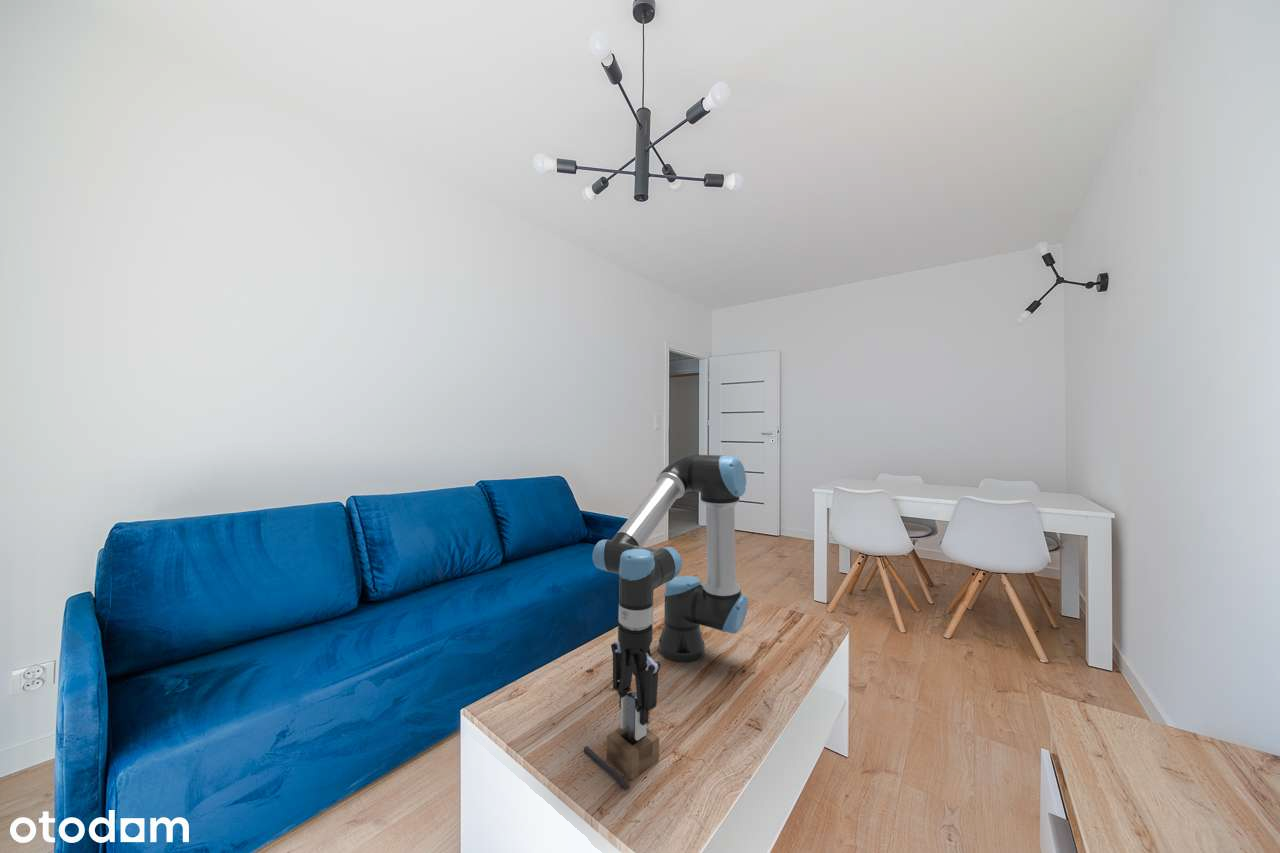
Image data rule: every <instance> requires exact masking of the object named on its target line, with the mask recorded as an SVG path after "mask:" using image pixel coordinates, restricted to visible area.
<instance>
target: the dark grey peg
mask: <svg viewBox="0 0 1280 853" xmlns="http://www.w3.org/2000/svg"><path fill="white" fill-rule="evenodd" d="M637 707H638V699H637V691H630V692H628V698H627V742H629V743H630V744H631V745H632V746H633V745H634V744H636V743H637V742H639V740H638V741H637V740H635V708H637Z"/></svg>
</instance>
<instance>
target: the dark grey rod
mask: <svg viewBox="0 0 1280 853" xmlns="http://www.w3.org/2000/svg"><path fill="white" fill-rule="evenodd" d="M583 752H584V753H585V754H586V755H587V756H589V758H590V759H591V760H592V761H594V762H595V763H596V765H598V766H599V767H600V768H601V769H603V771H604V772H606V773H607V774H608V775H609V776H610V777H611V778H612V779H613V780H614V781H615V782H617V783H618V784H619V785H620V786H621V787H622V788H623V789H624V790H625V791H626V790H629V788H630V784H629V782H628V781H627V780H626V779H624V778H623V777H622V776H621V775H620V774H619V773H618V772H616V770H614V769H613V768H612V767H611V765H609V764H608V763H606V761H604V760H603V759H602V758H601V757H600V756H599V755H598V754H597V753H595V751H593V750H592V749H591V748H590V747H589V746H588V745H586V746H584V747H583Z"/></svg>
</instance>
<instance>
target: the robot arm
mask: <svg viewBox="0 0 1280 853" xmlns="http://www.w3.org/2000/svg"><path fill="white" fill-rule="evenodd" d="M655 480H656V481H655V484H654V486H653V487H652V488H651V489H650V491H649V492H648V493H647V495H646V496H645V497H644V499H642V501H641V502H640V504H639V505H638V506H637V507H636V509H635V510H633V512H632V514H630V516H629V517H628V518H627V520H626V521H625V523H624V524H623V525H622V526H621V527H620V528H619V530H618V531H617V532H616V534H615V535H614V536H613V537H612V539H601V540H599V541H598V542H597V543H596V544H595V545H594V547H593V550H592V562H593V564H594V566H595V567H596V568H597V569H599V570H602V571H605V572H607V573H613V574H617V575H618V579H619V580H618V581H619V582H618V583H619V585H618V586H619V588H618V589H619V590H618V596H619V598H618V626H617V641H616V642H614V643H611V644H610V646H611V647H610V649H611V652H612V688H613V689H614V690H617V694H618V696H619V709H620V719H619V720H620V721H619V722H620V723H619V724H620V725H619V726H620V727H619V728H621V729H624V728H626V727H627V698H628V694H629V693H630V692H633V688H631V685H632V680H633V679H632V678H633V676H634V678H635V679H634V680H635V688H636V692H637V699H638V707H637V708H635V740H637V741H638V740H639V739H641V738H642V737H644V736H645V735H646V728H648V726H647V725H648V723H649V716H650V714H649V712H650V711H651V710H653V709H654V708H656V707H657V703H658V700H657V699H658V681H659V672H660V669H661V667H662V666H661V665H662V664H661V662H660V661H654V659H653V658H652V653H651V649H650V647H651V644H652V642H653V628H654V626H653V623H654V591H655V589H657V588H658V587H660V586H662V585H664V584H665V586H664V594H663V595H664V616H663V617H664V624H663V628H662V630H661V633H660V637H659V640H658V652H659V653H660V654H661V655H662V656H663V657H664V658H666V659H667V660H672V661H676V662H679V663H680V662H681V663H682V662H684V663H687V662H694V661H697V660H699V659H701V658H703V657H704V655H705V651H706V645H705V641H704V639H703V635H702V631H701V626H703V627H706V628H711V629H714V630H718V631H721V632H722V633H728V634H732V635H734V634H737V633H739V631H740V630H742V627H743V626H744V623H745V621H746V617H747V614H748V609H749V608H748V607H749V599H748V596H747V595H745V594H742V593H741V592H742V590H741V588H742V587H741V585H740V584H739V583H738V581H737V580H736V530H735V529H736V526H735V522H736V521H735V517H736V516H735V506H736V504H737V503H739V502H740V497H742V496H743V495H744V494H745V493H746V487H747V474H746V471H745V467H744V464H743V463H742V461H741V460H740V459H739V458H737V457H736V456H728V455H721V454H720V455H718V454H697V453H695V454H694V453H693V454H687V455H684V456H681V457H679V458H677V459H675V460H674V461H673V462H671V463H670V464H668V465H667V466H665V468H664V469H663V470H662V471H660V473H659V475H658V476H657V477H656V479H655ZM687 492H689V493H690V492H694V493H700V501H701V502H702V504H704V505H705V526H706V533H705V534H706V568H707V569H706V572H707V577H706V578H707V579H706V580H705V581H704V582H703V584H702V581H701V578H699V577H697V576H694V575H693V576H692V575H682V576H678V575H680V573H681V571H682V566H683V562H682V557H681V556H680V554H679V552H678V551H677V550H676V549H674V548H673V547H670V546H665V547H659V548H658V549H657V548H656V549H655V548H650V547H645V546H644V545H645V544H646V542H648V541H647V540H648V539H649V538H650V537H651V535H652V534H653V532H654V531H655V529H656V528H657V527H658V525H660V522H662V520H663V518H664V517H665V515H666V514H668V511H669V510H670V509H671V507H672V506H673V504H674V503H675V501H676V500H677V499H681V498H682V497H683V496H684V495H685V493H687Z"/></svg>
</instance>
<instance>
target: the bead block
mask: <svg viewBox="0 0 1280 853" xmlns="http://www.w3.org/2000/svg"><path fill="white" fill-rule="evenodd" d="M659 754H660V737H659V735H657V734H655V733H654V732H652V731H651V730H650V729H649V728H648V727H646V735H645V736H644V737H642V738H641V739H639V742H637V743H636V744H634V745H633V746H632V745H631V744H630V743H629V742H627V727H626V728H624V729H621V728H620V727H618V728H616V729H615V730H613V731H612V732H610V733H608V734H607V735H606V759H607V760H608V761H609V762H610V763H611V764H612V765H613V766H615V767H616V769H618V770H619V771H620V772H621V773H623V775H625V776H626V777H627V778H628V779H629V781H633V780H634V779H635V778H637V777H638V776H639V775H641V774H642V773H644V772H645V771H647V770H648V769H649V768H650V767H652V766H654V764H656V763H657V762H658V761H659V759H660V756H659Z"/></svg>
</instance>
